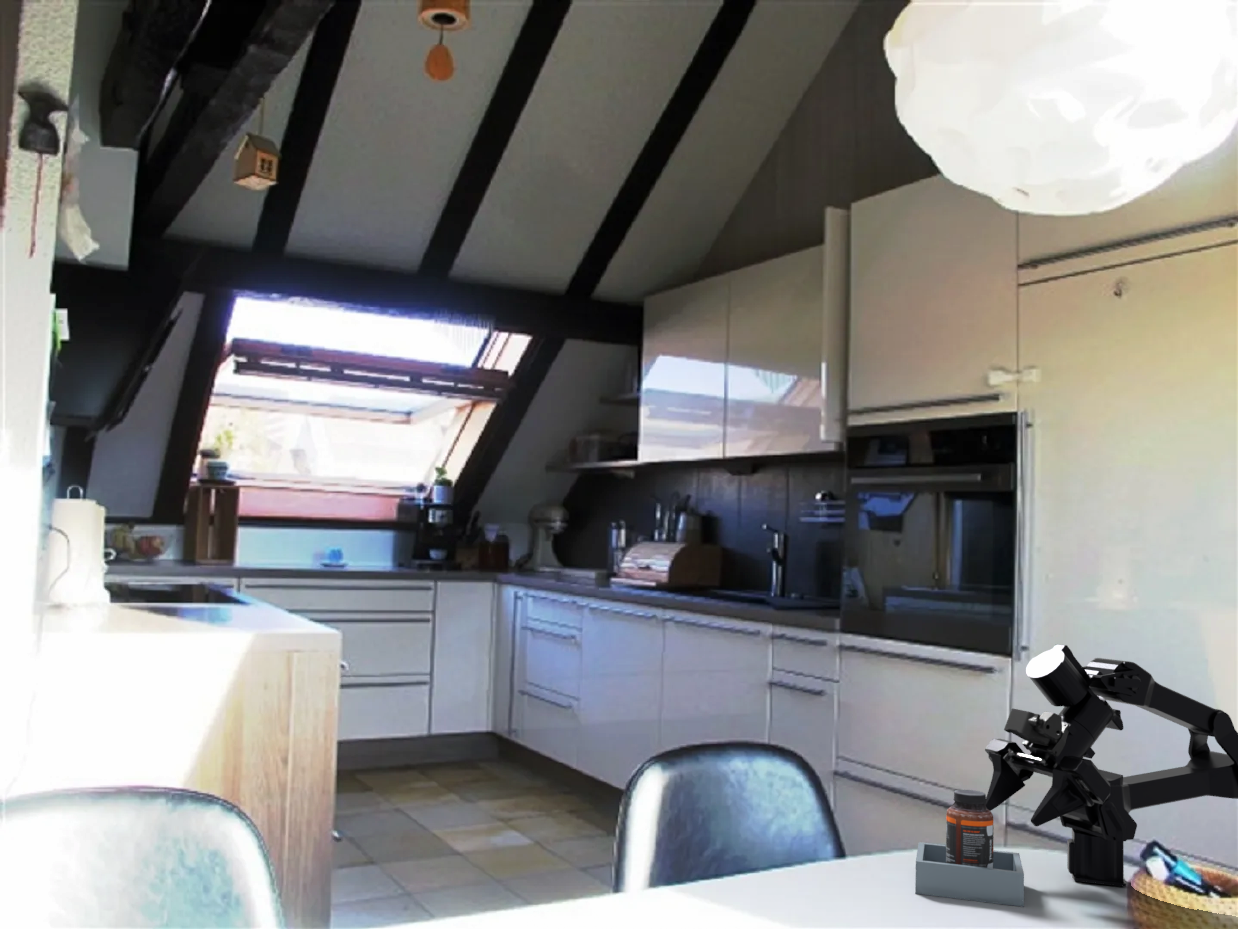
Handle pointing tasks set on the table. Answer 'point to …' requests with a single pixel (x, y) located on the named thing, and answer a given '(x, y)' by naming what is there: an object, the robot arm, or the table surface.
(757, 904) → the table surface
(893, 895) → the table surface
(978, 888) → the tote
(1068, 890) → the table surface
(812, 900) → the table surface
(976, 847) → the supplement bottle
